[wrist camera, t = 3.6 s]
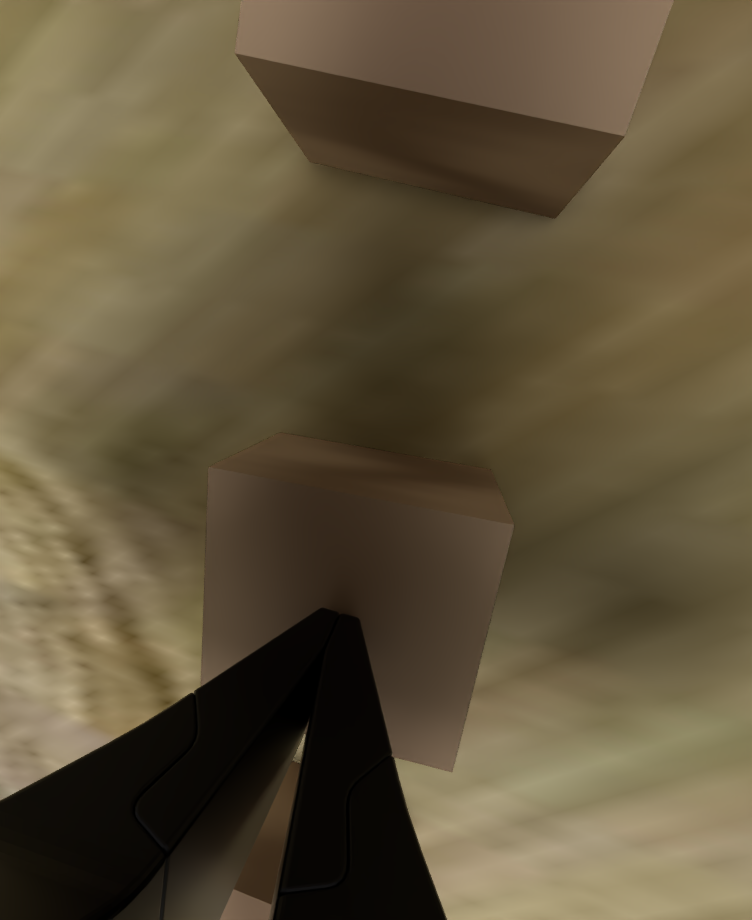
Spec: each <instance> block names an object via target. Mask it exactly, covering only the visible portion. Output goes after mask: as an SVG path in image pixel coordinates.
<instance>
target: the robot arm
mask: <svg viewBox="0 0 752 920" xmlns="http://www.w3.org/2000/svg"><path fill="white" fill-rule="evenodd" d="M307 725H308V728H307ZM306 728H307V732H306V737H305V742H304V747H303V752H302V757H301V761H300V766H299V771H298V776H297V781H296V786H295V791H294V796H293V801H292V806H291V811H290V816H289V821H288V826H287V830H286V835H285V840H284V845H283V850H282V855H281V860H280V865H279V870H278V875H277V880H276V885H275V890H274V895H273V899H272V904H271V909H270V914H269V919H268V920H447V918H446V915H445V913H444V910H443V907H442V905H441V902H440V899H439V896H438V894H437V891H436V888H435V886H434V883H433V880H432V877H431V875H430V872H429V869H428V867H427V864H426V861H425V859H424V856H423V853H422V850H421V847H420V844H419V842H418V839H417V836H416V833H415V830H414V827H413V824H412V821H411V818H410V815H409V812H408V809H407V805H406V802H405V798H404V794H403V791H402V787H401V784H400V780H399V776H398V772H397V768H396V764H395V760H394V757H393V756H392V755H393V752H392V748H391V744H390V740H389V736H388V732H387V728H386V724H385V720H384V716H383V712H382V707H381V703H380V699H379V695H378V691H377V687H376V683H375V679H374V675H373V671H372V667H371V662H370V658H369V654H368V650H367V646H366V642H365V638H364V634H363V630H362V626H361V622H360V619H359V618H358V617H355V616H351V615H348V614H344V613H343V614H341V615H339V612H337V611H334V610H330V609H327V608H323V607H322V608H319V609H318V610H316V611H315V612H313V613H312V614H310V615H309V616H307V617H306V618H304V619H303V620H301V621H300V622H298V623H296V624H295V625H293V626H292V627H290V628H289V629H287V630H286V631H284V632H283V633H281V634H280V635H278V636H277V637H275V638H274V639H272V640H271V641H269V642H268V643H266V644H265V645H263V646H262V647H260V648H259V649H257V650H256V651H254V652H252V653H251V654H249V655H248V656H246V657H245V658H243V659H242V660H240V661H239V662H237V663H236V664H234V665H233V666H231V667H230V668H228V669H227V670H225V671H224V672H222V673H221V674H219V675H218V676H216V677H215V678H213V679H212V680H210V681H208V682H207V683H205V684H204V685H202V686H201V687H199V688H198V689H196V690H195V691H194V694H193V693H190V694H188V695H187V696H185V697H184V698H182V699H181V700H179V701H178V702H176V703H175V704H173V705H172V706H170V707H168V708H167V709H165V710H164V711H162V712H160V713H159V714H157V715H156V716H154V717H152V718H151V719H149V720H148V721H146V722H144V723H143V724H141V725H139V726H137V727H136V728H134V729H132V730H130V731H129V732H127V733H125V734H123V735H121V736H120V737H118V738H116V739H114V740H113V741H111V742H109V743H107V744H105V745H104V746H102V747H100V748H98V749H96V750H94V751H92V752H90V753H89V754H87V755H85V756H83V757H81V758H79V759H77V760H76V761H74V762H72V763H70V764H68V765H66V766H64V767H62V768H61V769H59V770H57V771H55V772H53V773H51V774H49V775H47V776H46V777H44V778H42V779H40V780H38V781H36V782H34V783H32V784H31V785H29V786H27V787H25V788H23V789H21V790H19V791H18V792H16V793H14V794H12V795H10V796H8V797H6V798H4V799H2V800H0V920H220V918H221V916H222V913H223V911H224V909H225V907H226V905H227V902H228V900H229V898H230V896H231V894H232V891H233V889H234V887H235V885H236V883H237V880H238V878H239V876H240V874H241V872H242V869H243V867H244V865H245V863H246V861H247V858H248V856H249V854H250V852H251V850H252V848H253V845H254V843H255V841H256V839H257V837H258V834H259V832H260V830H261V828H262V826H263V823H264V821H265V819H266V817H267V815H268V812H269V810H270V808H271V806H272V804H273V801H274V799H275V797H276V795H277V793H278V790H279V788H280V786H281V784H282V782H283V779H284V777H285V775H286V773H287V771H288V768H289V766H290V764H291V762H292V760H293V757H294V755H295V753H296V751H297V749H298V746H299V744H300V742H301V740H302V738H303V735H304V733H305V730H306Z"/></svg>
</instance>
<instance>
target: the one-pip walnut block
mask: <svg viewBox="0 0 752 920" xmlns="http://www.w3.org/2000/svg"><path fill="white" fill-rule="evenodd" d="M673 1H674V0H241V7H240V15H239V23H238V31H237V39H236V47H235V54H236V56H237V57H238V59H239V60H240V62H241V63H242V64H243V66H244V67H245V69H246V70H247V72H248V73H249V75H250V76H251V77H252V79H253V80H254V82H255V83H256V85H257V86H258V88H259V89H260V90H261V92H262V93H263V95H264V96H265V98H266V99H267V101H268V102H269V104H270V105H271V106H272V108H273V109H274V111H275V112H276V114H277V115H278V117H279V118H280V119H281V121H282V122H283V124H284V125H285V127H286V128H287V130H288V131H289V132H290V134H291V135H292V137H293V138H294V140H295V141H296V143H297V144H298V146H299V147H300V148H301V150H302V151H303V153H304V154H305V156H306V157H307V159H308V160H309V161H310V162H313V163H317V164H321V165H326V166H330V167H334V168H339V169H343V170H347V171H352V172H356V173H360V174H365V175H369V176H373V177H378V178H382V179H386V180H391V181H395V182H399V183H404V184H408V185H412V186H417V187H421V188H425V189H429V190H434V191H438V192H442V193H447V194H451V195H455V196H460V197H464V198H468V199H473V200H477V201H481V202H486V203H490V204H494V205H499V206H503V207H507V208H512V209H516V210H520V211H525V212H529V213H533V214H538V215H542V216H546V217H550V218H556V217H557V216H558V215H559V214H560V212H561V211H562V210H563V209H564V208H565V206H566V205H567V204H568V203H569V202H570V201H571V199H572V198H573V197H574V196H575V195H576V194H577V192H578V191H579V190H580V189H581V188H582V186H583V185H584V184H585V183H586V182H587V181H588V179H589V178H590V177H591V176H592V175H593V173H594V172H595V171H596V170H597V169H598V168H599V166H600V165H601V164H602V163H603V162H604V160H605V159H606V158H607V157H608V156H609V155H610V153H611V152H612V151H613V150H614V149H615V147H616V146H617V145H618V144H619V143H620V142H621V140H622V139H623V138H624V137H625V135H626V132H627V129H628V126H629V124H630V121H631V118H632V115H633V113H634V110H635V107H636V104H637V101H638V99H639V96H640V93H641V90H642V87H643V85H644V82H645V79H646V76H647V74H648V71H649V68H650V65H651V62H652V60H653V57H654V54H655V51H656V49H657V46H658V43H659V40H660V37H661V35H662V32H663V29H664V26H665V24H666V21H667V18H668V15H669V12H670V10H671V7H672V4H673Z"/></svg>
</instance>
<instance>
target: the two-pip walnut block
mask: <svg viewBox="0 0 752 920" xmlns="http://www.w3.org/2000/svg"><path fill="white" fill-rule="evenodd" d="M299 766H300V764H299V763H296V762H294V761H292V762H291V764H290V766H289V768H288V771H287V773H286V775H285V777H284V779H283V782H282V784H281V786H280V788H279V790H278V793H277V795H276V797H275V799H274V801H273V804H272V806H271V808H270V810H269V812H268V815H267V817H266V819H265V821H264V823H263V826H262V828H261V830H260V832H259V834H258V837H257V839H256V841H255V843H254V845H253V848H252V850H251V852H250V854H249V856H248V858H247V861H246V863H245V865H244V867H243V869H242V872H241V874H240V876H239V878H238V880H237V883H236V885H235V887H234V889H233V891H232V894H231V896H230V898H229V900H228V902H227V905H226V907H225V909H224V911H223V913H222V916H221V918H220V920H268V919H269V914H270V909H271V904H272V899H273V895H274V890H275V885H276V880H277V875H278V870H279V865H280V860H281V855H282V850H283V845H284V840H285V835H286V830H287V826H288V821H289V816H290V811H291V806H292V801H293V796H294V791H295V786H296V781H297V776H298V771H299Z"/></svg>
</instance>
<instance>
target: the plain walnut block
mask: <svg viewBox="0 0 752 920" xmlns="http://www.w3.org/2000/svg"><path fill="white" fill-rule="evenodd" d="M513 529H514V523H513V520H512V518H511V516H510V513H509V511H508V508H507V506H506V504H505V501H504V499H503V497H502V494H501V492H500V489H499V487H498V485H497V482H496V480H495V478H494V475H493V473H492V470H491V469H485V468H480V467H474V466H468V465H463V464H457V463H451V462H445V461H440V460H434V459H428V458H423V457H417V456H411V455H406V454H400V453H394V452H389V451H383V450H377V449H371V448H366V447H360V446H354V445H349V444H343V443H337V442H332V441H326V440H320V439H315V438H309V437H303V436H298V435H292V434H286V433H278V434H276V435H274V436H272V437H269V438H267V439H265V440H263V441H261V442H259V443H257V444H255V445H253V446H251V447H249V448H247V449H245V450H243V451H240V452H238V453H236V454H234V455H232V456H230V457H228V458H226V459H224V460H222V461H220V462H218V463H216V464H214V465H211V466H209V467H208V492H207V521H206V550H205V579H204V608H203V637H202V666H201V686H202V685H204V684H205V683H207V682H208V681H210V680H212V679H213V678H215V677H216V676H218V675H219V674H221V673H222V672H224V671H225V670H227V669H228V668H230V667H231V666H233V665H234V664H236V663H237V662H239V661H240V660H242V659H243V658H245V657H246V656H248V655H249V654H251V653H252V652H254V651H256V650H257V649H259V648H260V647H262V646H263V645H265V644H266V643H268V642H269V641H271V640H272V639H274V638H275V637H277V636H278V635H280V634H281V633H283V632H284V631H286V630H287V629H289V628H290V627H292V626H293V625H295V624H296V623H298V622H300V621H301V620H303V619H304V618H306V617H307V616H309V615H310V614H312V613H313V612H315V611H316V610H318V609H319V608H322V607H323V608H327V609H330V610H334V611H337V612H339V615H341V614H343V613H344V614H348V615H351V616H355V617H358V618H359V619H360V622H361V626H362V630H363V634H364V638H365V642H366V646H367V650H368V654H369V658H370V662H371V667H372V671H373V675H374V679H375V683H376V687H377V691H378V695H379V699H380V703H381V707H382V712H383V716H384V720H385V724H386V728H387V732H388V736H389V740H390V744H391V748H392V752H393V755H392V756H393V757H395V758H399V759H403V760H407V761H411V762H415V763H418V764H422V765H426V766H430V767H434V768H438V769H442V770H445V771H449V772H453V768H454V764H455V760H456V756H457V752H458V748H459V744H460V740H461V736H462V732H463V728H464V724H465V720H466V716H467V712H468V708H469V704H470V700H471V696H472V692H473V688H474V684H475V680H476V676H477V672H478V668H479V664H480V660H481V656H482V652H483V648H484V645H485V641H486V637H487V633H488V629H489V625H490V621H491V617H492V613H493V609H494V605H495V601H496V597H497V593H498V589H499V585H500V581H501V577H502V573H503V569H504V565H505V561H506V557H507V553H508V549H509V545H510V541H511V537H512V533H513ZM307 728H308V725H307ZM307 728H306V730H305V733H304V734H306V732H307Z"/></svg>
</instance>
